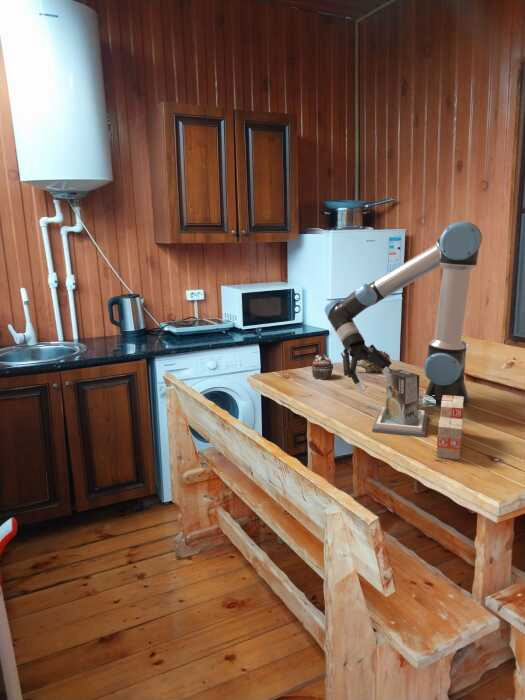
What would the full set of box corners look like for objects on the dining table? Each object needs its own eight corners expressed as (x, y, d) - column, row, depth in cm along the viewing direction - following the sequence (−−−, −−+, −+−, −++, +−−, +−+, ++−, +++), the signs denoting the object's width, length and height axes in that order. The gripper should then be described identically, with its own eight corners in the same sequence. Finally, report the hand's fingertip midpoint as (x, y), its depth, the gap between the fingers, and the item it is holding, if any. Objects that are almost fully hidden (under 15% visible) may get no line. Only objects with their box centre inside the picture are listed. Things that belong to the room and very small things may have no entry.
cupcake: (308, 375, 235) (308, 353, 233) (328, 373, 238) (328, 352, 236) (315, 381, 226) (315, 358, 224) (336, 379, 229) (336, 356, 227)
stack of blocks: (459, 460, 145) (462, 418, 143) (436, 457, 148) (438, 416, 145) (461, 433, 165) (464, 395, 162) (440, 431, 167) (442, 394, 164)
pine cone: (386, 368, 244) (387, 347, 242) (393, 373, 235) (393, 352, 233) (339, 370, 243) (340, 349, 241) (344, 375, 234) (344, 354, 231)
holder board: (427, 416, 180) (427, 409, 179) (424, 436, 162) (425, 429, 162) (379, 412, 185) (379, 405, 184) (372, 431, 167) (372, 424, 167)
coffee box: (419, 422, 171) (421, 374, 168) (404, 426, 168) (406, 377, 165) (399, 414, 179) (400, 368, 175) (384, 418, 176) (386, 371, 172)
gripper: (371, 339, 199) (399, 386, 189) (318, 348, 187) (345, 399, 177) (381, 327, 193) (411, 375, 184) (327, 335, 181) (356, 387, 171)
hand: (379, 387), depth 180 cm, fingers open, 13 cm apart
